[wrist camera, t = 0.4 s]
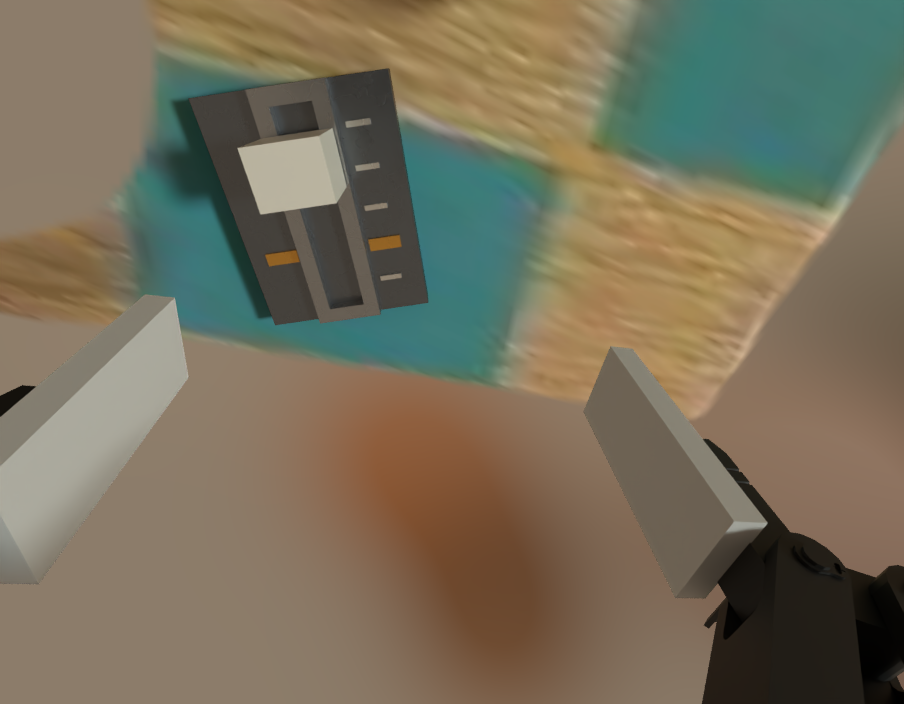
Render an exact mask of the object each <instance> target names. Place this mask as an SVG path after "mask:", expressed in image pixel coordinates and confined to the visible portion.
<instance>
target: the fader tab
mask: <svg viewBox="0 0 904 704" xmlns="http://www.w3.org/2000/svg"><path fill="white" fill-rule="evenodd" d="M237 149H238V152H239V154H240V157H241V160H242V163H243V166H244V169H245V172H246V174H247V177H248V180H249V183H250V186H251V189H252V192H253V194H254V197H255V200H256V203H257V206H258V209H259V212H260V214H268V213H274V212H281V211H288V210H295V209H301V208H308V207H315V206H322V205H328V204H335V203H337V202H338V200H339V198H340V197H341V195H342V194H343V192H344V190H345V189H346V187H347V186H346V182H345V178H344V173H343V169H342V165H341V161H340V157H339V153H338V149H337V144H336V140H335V136H334V132H333V128H328V129H321V130H315V131H308V132H301V133H295V134H288V135H281V136H275V137H268V138H262V139H259V140H257V141H254V142H252V143H249V144H247V145H244V146H242V147H239V148H237Z"/></svg>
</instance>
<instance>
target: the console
mask: <svg viewBox="0 0 904 704" xmlns="http://www.w3.org/2000/svg"><path fill="white" fill-rule="evenodd" d="M188 99H189V101H190V104H191V106H192V109H193V112H194V114H195V117H196V119H197V122H198V125H199V127H200V130H201V132H202V135H203V138H204V140H205V143H206V146H207V148H208V151H209V153H210V156H211V159H212V161H213V164H214V166H215V169H216V172H217V174H218V177H219V180H220V182H221V185H222V187H223V190H224V193H225V195H226V198H227V200H228V203H229V206H230V208H231V211H232V213H233V216H234V219H235V221H236V224H237V227H238V229H239V232H240V234H241V237H242V240H243V242H244V245H245V247H246V250H247V253H248V255H249V258H250V261H251V263H252V266H253V268H254V271H255V274H256V276H257V279H258V281H259V284H260V287H261V289H262V292H263V294H264V297H265V300H266V302H267V305H268V308H269V310H270V313H271V315H272V318H273V321H274V323H275V325H280V324H286V323H293V322H300V321H307V320H314V319H319V321H320V323H326V322H333V321H340V320H347V319H353V318H360V317H367V316H374V315H380V314H381V310H382V309H388V308H395V307H402V306H409V305H416V304H422V303H428V292H427V286H426V281H425V275H424V269H423V263H422V257H421V251H420V245H419V239H418V234H417V228H416V222H415V216H414V210H413V204H412V198H411V192H410V186H409V181H408V175H407V169H406V163H405V157H404V151H403V145H402V139H401V134H400V128H399V122H398V116H397V110H396V104H395V98H394V92H393V86H392V81H391V75H390V69H382V70H375V71H368V72H362V73H355V74H348V75H342V76H335V77H328V78H319V79H312V80H306V81H299V82H292V83H286V84H279V85H272V86H266V87H259V88H252V89H246V90H242V91H235V92H228V93H222V94H215V95H208V96H202V97H195V98H188ZM328 128H333V132H334V136H335V140H336V144H337V149H338V153H339V157H340V161H341V165H342V169H343V173H344V178H345V182H346V186H347V187H346V189H345V190H344V192H343V194H342V195H341V197H340V198H339V200H338V202H337V203H335V204H328V205H322V206H315V207H308V208H301V209H295V210H288V211H281V212H274V213H268V214H260V212H259V209H258V206H257V203H256V200H255V197H254V194H253V192H252V189H251V186H250V183H249V180H248V177H247V174H246V172H245V169H244V166H243V163H242V160H241V157H240V154H239V152H238V149H237V148H239V147H242V146H244V145H247V144H249V143H252V142H254V141H257V140H259V139H262V138H268V137H275V136H281V135H288V134H295V133H301V132H308V131H315V130H321V129H328Z"/></svg>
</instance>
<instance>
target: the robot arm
mask: <svg viewBox="0 0 904 704" xmlns="http://www.w3.org/2000/svg"><path fill="white" fill-rule="evenodd" d="M187 379H188V371H187V366H186V360H185V354H184V348H183V343H182V337H181V331H180V325H179V320H178V314H177V308H176V302H175V298H171V297H162V296H154V295H144V296H143V297H142V298H140V299H139V300H138V301H137V302H136V303H134V304H133V305H132V306H131V307H130V308H129V309H127V310H126V311H125V312H124V313H123V314H121V315H120V316H119V317H118V318H117V319H116V320H114V321H113V322H112V323H111V324H110V325H109V326H107V327H106V328H105V329H104V330H103V331H101V332H100V333H99V334H98V335H97V336H96V337H94V338H93V339H92V340H91V341H90V342H88V343H87V344H86V345H85V346H84V347H83V348H81V349H80V350H79V351H78V352H77V353H75V354H74V355H73V356H72V357H71V358H70V359H69V360H67V361H66V362H65V363H64V364H62V365H61V366H60V367H59V368H58V369H57V370H55V371H54V372H53V373H52V374H51V375H50V376H48V377H47V378H46V379H45V380H44V381H42V382H41V383H40V384H39V385H38V386H36V387H35V386H23V385H22V386H20V387H18V388H16V389H13V390H11V391H9V392H7V393H5V394H3V395H1V396H0V583H4V584H39V583H40V581H41V580H42V579H43V578H44V576H45V575H46V573H47V572H48V571H49V569H50V568H51V566H52V565H53V564H54V562H55V561H56V560H57V558H58V557H59V555H60V554H61V553H62V551H63V550H64V549H65V547H66V546H67V544H68V543H69V542H70V540H71V539H72V538H73V536H74V535H75V533H76V532H77V530H78V529H79V528H80V526H81V525H82V524H83V522H84V521H85V520H86V518H87V517H88V515H89V514H90V513H91V511H92V510H93V509H94V507H95V506H96V504H97V503H98V502H99V500H100V499H101V498H102V496H103V495H104V493H105V492H106V491H107V489H108V488H109V486H110V485H111V483H112V482H113V481H114V479H115V478H116V477H117V475H118V474H119V473H120V471H121V470H122V469H123V467H124V466H125V464H126V463H127V462H128V460H129V459H130V458H131V456H132V455H133V453H134V452H135V451H136V449H137V448H138V446H139V445H140V444H141V442H142V441H143V440H144V438H145V437H146V435H147V434H148V433H149V431H150V430H151V428H152V427H153V426H154V424H155V423H156V422H157V420H158V419H159V417H160V416H161V415H162V413H163V412H164V411H165V409H166V408H167V406H168V405H169V404H170V402H171V401H172V399H173V398H174V397H175V395H176V394H177V393H178V391H179V390H180V388H181V387H182V386H183V384H184V383H185V382H186V380H187ZM584 414H585V416H586V418H587V420H588V422H589V424H590V426H591V428H592V430H593V432H594V434H595V436H596V438H597V440H598V442H599V444H600V446H601V448H602V450H603V452H604V454H605V456H606V458H607V460H608V462H609V464H610V467H611V468H612V471H613V473H614V475H615V477H616V479H617V481H618V482H619V485H620V487H621V489H622V491H623V493H624V495H625V497H626V499H627V501H628V503H629V505H630V507H631V509H632V511H633V513H634V515H635V517H636V519H637V521H638V523H639V525H640V527H641V529H642V531H643V533H644V535H645V537H646V539H647V542H648V543H649V545H650V547H651V549H652V552H653V554H654V556H655V558H656V560H657V562H658V564H659V566H660V568H661V570H662V572H663V574H664V576H665V578H666V580H667V582H668V584H669V586H670V588H671V590H672V592H673V594H674V596H675V598H706V597H707V595H708V594H709V593H710V592H711V591H712V590H713V588H714V587H715V586H716V585H717V584H719V586H720V587H721V589H722V591H723V592H724V594H725V596H726V598H725V599H724V600H723V602H722V603H721V604H720V605H719V606H718V607H717V608H716V610H715V611H714V612H713V613H712V614H711V615H710V617H709V618H708V619H707V621H706V622H705V624H704V625H705V626H706V627H707V628H710V626H711V625H712V624H713V623H714V622H717V623H716V629H715V635H714V640H713V646H712V651H711V657H710V662H709V668H708V674H707V679H706V684H705V690H704V695H703V701H702V704H904V690H903V688H902V687H901V685H900V682H899V680H898V678H897V676H898V675H899V674H901V673H902V672H904V567H903V566H899V565H895V566H889V567H888V568H886V569H885V570H884V571H883V572H882V573H881V574H880V575H879V576H877V577H872V576H869V575H866V574H863V573H860V572H857V571H854V570H851V569H848V568H845V566H844V565H843V564H842V562H841V561H840V560H839V559H838V558H837V557H836V556H835V555H834V554H833V553H832V552H830V551H829V550H828V549H827V548H826V547H824V546H823V545H821V544H820V543H818V542H817V541H815V540H813V539H811V538H809V537H806V536H804V535H801V534H798V533H791V532H789V530H788V529H787V528H786V526H785V525H784V524H783V523H782V521H781V520H780V519H779V518H778V517H777V515H776V514H775V513H774V512H773V510H772V509H771V508H770V507H769V506H768V505H767V503H766V502H765V501H764V499H763V498H762V497H761V496H760V494H759V493H758V492H757V491H756V489H755V488H754V487H753V486H752V485H749V481H748V480H747V478H746V477H745V476H744V475H743V473H742V472H739V469H738V467H737V466H736V465H735V463H734V462H733V461H732V460H731V459H730V457H729V456H728V455H727V454H726V453H725V452H724V451H723V450H721V449H720V448H719V447H718V446H716V445H715V444H714V443H713V442H711V441H710V440H709V439H702V438H701V437H700V435H699V434H698V433H697V431H696V430H695V429H694V427H693V426H692V425H691V424H690V422H689V421H688V420H687V418H686V417H685V416H684V415H683V413H682V412H681V411H680V409H679V408H678V407H677V406H676V404H675V403H674V402H673V400H672V399H671V398H670V397H669V395H668V394H667V393H666V391H665V390H664V389H663V388H662V386H661V385H660V384H659V382H658V381H657V380H656V379H655V377H654V376H653V375H652V373H651V372H650V371H649V370H648V368H647V367H646V366H645V364H644V363H643V362H642V361H641V359H640V358H639V357H638V355H637V354H636V353H635V352H634V350H633V349H629V348H620V347H610V349H609V351H608V354H607V356H606V359H605V361H604V363H603V366H602V368H601V371H600V373H599V376H598V378H597V380H596V383H595V385H594V388H593V390H592V392H591V395H590V397H589V400H588V402H587V404H586V407H585V409H584Z"/></svg>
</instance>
